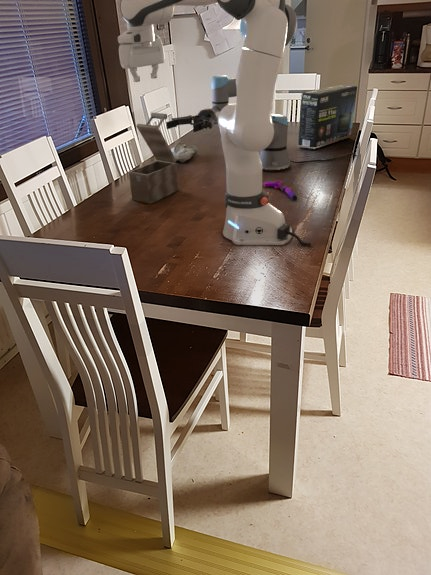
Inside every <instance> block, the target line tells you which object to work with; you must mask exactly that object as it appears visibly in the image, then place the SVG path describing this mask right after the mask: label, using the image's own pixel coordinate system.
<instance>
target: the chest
mask: <svg viewBox="0 0 431 575" xmlns="http://www.w3.org/2000/svg"><path fill="white" fill-rule="evenodd" d="M177 171H178V170H177V163H176V162H175V163H173V162H167V161H161V160H155V161H152V162H149V163H147V164H145V165H142V166H139V167H137V168H134V169H132V170H130V171H128V177H129V178H128V179H129V185H130V193H131V200H133V201H135V202H141V203H145V204H149V205H150V204H153V203H155V202H158V201H160V200H162V199H163V198H165V197H167V196H170V195H171V194H174V193H175V192H177V191H179V184H178V173H177Z"/></svg>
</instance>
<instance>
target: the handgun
mask: <svg viewBox="0 0 431 575" xmlns="http://www.w3.org/2000/svg"><path fill="white" fill-rule="evenodd" d="M262 185H263V187H264V188H274V189H280V190H281V192H285V193H286V194H287V195H288V196H289V197H290V198H291V199H292V201H297V200H298V195H296V194H295V193H294V192H293V191H292V189H291V188H290V187H288V186H287V185H286V184H285V183H284V182H283V181H282V180H275V181H263V182H262Z"/></svg>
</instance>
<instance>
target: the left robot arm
mask: <svg viewBox="0 0 431 575" xmlns="http://www.w3.org/2000/svg"><path fill="white" fill-rule="evenodd" d="M217 4H218V6H219V7H220V8H221V9H222V10H223V11H224V12H226V13H227V14H228V15H229V16H231V17H232V18H233V19H235V20H237V21H241V19H242V20H243V21H244V22H245V25H246V37H245V40H244V41H243V45H242V50H241V55H240V58H239V62H238V65H237V66H238V67H237V72H236V75H235V78H236V85H237V96H236V98H235V100H236V101H235V103H229V105H227V106H225V107H224V108H223V109H222V110H221V111H220V113H219V116H218V124H217V126H218V129H219V132H220V140H221V146H222V152H223V158H224V162H225V163H224V164H225V177H226V178H225V183H226V190H225V194H224V205H225V209H226V210H225V218H224V219H225V220H224V226H223V229H222V235H223V237H225V239H228V240H230V241H232V243H233V244H234V245H236V246H283V245H286V244H288V243H289V242H290V240H291V239H292V237H294V239H296V241H297V243H298V244H300V245H301V246H307V247H310V246H311V242H305V241H303V240H302V239H301V237H299V236H298V234H296V233H294V232H293V228H292V227H291V224H289V223H286V219H285V215H284V213H283V212H282V211H280V210H279V209H278V208H277V207H276V206H275V205H272V204H271V203H270V202H269V194H270V192H269V191H267V192H266V191H265V190H263V171H262V169H263V167H262V163H261V160H260V157H259V154H260V151H262V150H264V149H265V148H267V147H268V146H269V145H270V143H271V142H272V139H273V136H274V128H273V124H272V114H273V106H274V94H275V87H276V83H277V79H278V76H279V71H280V69H281V68H280V67H281V63H282V60H283V59H282V58H283V57H284V52H285V48H286V46H285V42H286V35H287V25H288V20H287V17H286V15H285V13H284V9H285V4H286V0H120V2H119V11H120V14H121V16H122V18H123V20H124V21H125V22H126V28H127V29H126V30H125V31H124V32H122V33H121V34H120V35H118V36H117V42H118V44H119V45H118V46H119V47H118V55H119V63H120V66H121V68H122V69H125V70H127V69H128V70H129V73H130V74H131V76H132V78H133V82H134V83H139V82H141V76H140V75H138V72H137V71H138V68H142V67H147V66H148V67H149V66H151V68H152V70H151V73H150V78H151V79H152V80H153V79H157V78H158V71H159V65H161V64H164V63H165V61H166V56H165V49H164V44H163V41H162V38H161V37H160V36H159V35H158V34H155V31H154V30H155V29H154V28H155V27H154V25H155V26H156V25H165V24H167V23H170V22H171V21H172V19H173V17H174V13H175V7H176V6H189V7H190V6H191V7H208V6H213V5H217Z"/></svg>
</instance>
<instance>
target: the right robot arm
mask: <svg viewBox="0 0 431 575" xmlns="http://www.w3.org/2000/svg"><path fill="white" fill-rule="evenodd" d="M284 13H285V15H286V17H287V20H288V25H287V35H286V42H285V47H287V46H288V45H289V44H290V42H291V41H292V39H293V38H294V36H295V35H296V32H297V28H298V17H297V14H296V11H295V10H294V9H293V7H291V5H289V4H287V3H285V9H284ZM239 31H240V35H241V38H242V39H243V40H244V41H245V37H246V25H245V22H244V21H243V20H242V19H240V24H239ZM210 80H211V81H210V84H211V85H210V89H211V106H210V107H207V108H204V109H200V110H199V112H198V113H197V114H195V115H191V114H190V115H185V116H178V117H172V118H171V120H169V121H166V122H165V124H166V125H165V126H166V130H171V129H172V128H177V127H178V126H182V125H190V126H192V130H193V133H196V132H200V131H202V130H204V129H206V130H207V129H210V130H211V129H213V127H215V125H218V116H219V113H220V111H221V110H222V109H223V108H224V107H225V106H227V105H229V104H230V102H229V101H230V100H229V99H230V98H235V97H236V98H237V85H236V77H235V78H229V76H228V75H225V74H219V75H213V76H212V77H211V79H210ZM288 123H289V122H288V116H286V115H284V114H280V113H279V114H278V113H272V124H273V128H274V136H273V139H272V142H271V143H270V145H269V146H268V147H267V148H265V149H264V150H262V151H259V157H260V160H261V163H262V167H263V169H262V172H270V173H271V172H272V173H275V172H276V173H277V172H284V171H287V170H289V169H290V168H291V163H290V162H293V161H294V160H290V158H289V154H288V150H287V147H288V130H289V129H288V128H289V124H288ZM351 153H352V154H348V155H351V156H354V157H357V156H358V155H357V154H356V153H354V152H351ZM348 155H347V156H348ZM332 158H333V159H332ZM332 158H325V159H326V160H321V159H310V160H299V161H300V162H293V163H292V164H305V163H315V162H317V163H318V162H329V161H331V162H332V161H335V160H336V159H337V158H336V156H335V158H334V157H332ZM289 165H290V166H289ZM288 166H289V167H288ZM286 167H288V168H286ZM283 168H285V169H283ZM266 169H267V170H266ZM278 169H280V170H278Z"/></svg>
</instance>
